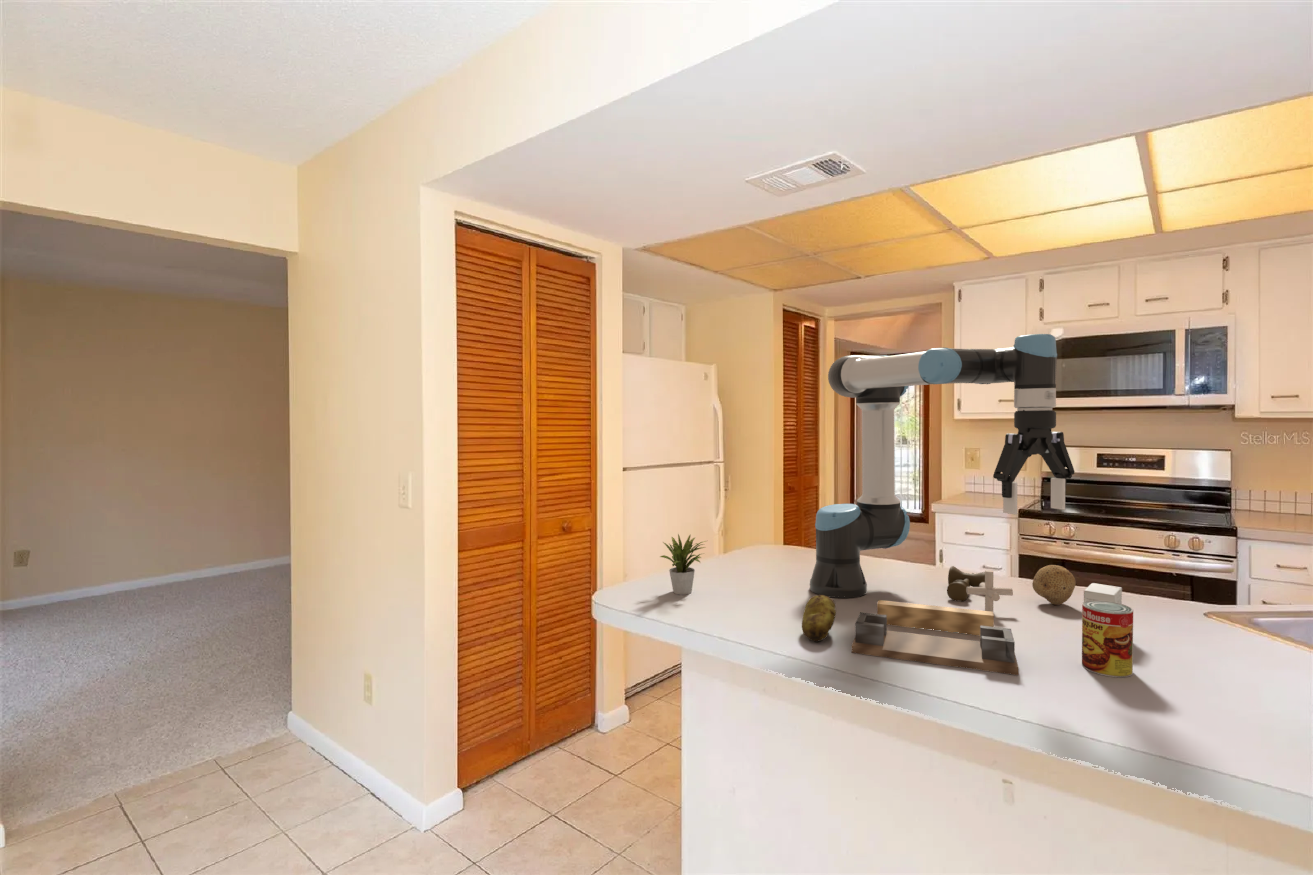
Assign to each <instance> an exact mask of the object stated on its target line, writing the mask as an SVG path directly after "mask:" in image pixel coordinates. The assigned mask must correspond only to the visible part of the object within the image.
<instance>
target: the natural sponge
mask: <svg viewBox="0 0 1313 875" xmlns="http://www.w3.org/2000/svg"><path fill="white" fill-rule="evenodd" d="M1031 583H1032V584H1031V585H1032V588H1033V591H1034V592H1035V593H1036V594H1037V595H1039V596H1040V597H1041V598H1044V599H1045V600H1046V601H1048V603H1051V605H1055V606H1060V605H1062V604H1064V603H1066V602H1067V601H1068V600H1069V599H1070V598H1071V597H1072V595H1073V592H1074V590H1075V588H1076V578H1075V576H1074V575H1073V573H1072V572H1071V571H1070V570H1069V569H1067V568H1065V567H1064V566H1061V565H1056V564H1049V565H1046V566H1043V567H1041V568H1039V569H1038V570H1037V572H1036V573H1035V575H1034V577H1033V580H1032V582H1031Z"/></svg>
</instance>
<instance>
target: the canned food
mask: <svg viewBox="0 0 1313 875" xmlns="http://www.w3.org/2000/svg"><path fill="white" fill-rule="evenodd" d="M1081 604H1082V605H1081V606H1082V607H1081V609H1082V610H1081V611H1082V612H1081V622H1082V623H1081V666H1082V667H1083V668H1084V669H1086V670H1087V671H1089V672H1092V673H1094V674H1097V675H1100V676H1104V677H1111V678H1112V677H1113V678H1128V677H1130V676H1133V674H1134V673H1133V672H1134V671H1133V667H1134V662H1133V661H1134V609H1133V608H1132V606H1129V605H1126V604H1123V603H1122V604H1120V603H1115V602H1110V601H1101V600H1090V601H1085V602H1084V601H1083V602H1082V603H1081Z"/></svg>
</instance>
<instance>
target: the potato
mask: <svg viewBox="0 0 1313 875" xmlns="http://www.w3.org/2000/svg"><path fill="white" fill-rule="evenodd" d="M836 616H837V610H836V603H835V601H834V599H833V598H832V597H828V596H825V595H819V594H816V595H813V596H812V597H810V598H809V599H808V601H807V602H806V604H805V608H804V610H803V613H802V620H801V630H802V632H803V634H804V636H805V637H806V638H807V639H809V640H810V641H813V642H815V643H817V642H820V641H823V640H825V639H826V638H827V636H828V635H829V632H830V630H832V628H833V625H834V621H835V618H836Z"/></svg>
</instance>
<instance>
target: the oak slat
mask: <svg viewBox="0 0 1313 875" xmlns="http://www.w3.org/2000/svg"><path fill="white" fill-rule="evenodd" d="M876 606H877V607H876V610H877V613H876V614H881V615H887V626H895V627H901V628H910V627H915V628H914V629H918V628H924V629H923V630H927V629H932V630H931V631H935V630H941V631H940V632H944V631H948V632H947V633H953V632H959V633H958V634H961V633H967V634H966V635H970V634H972V635H971V636H978V635H979V637H980V625H981V626H990V627H995V626H994V625H995V619H994V618H995V616H994V611H993V612H991V611H985V610H980V609H979V610H978V609H970V608H961V607H958V608H957V607H951V606H943V605H942V606H941V605H930V604H919V603H911V602H902V601H891V600H882V599H878V600H877V604H876ZM933 629H934V630H933Z"/></svg>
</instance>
